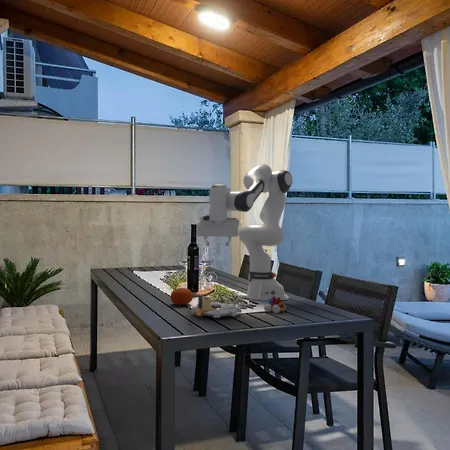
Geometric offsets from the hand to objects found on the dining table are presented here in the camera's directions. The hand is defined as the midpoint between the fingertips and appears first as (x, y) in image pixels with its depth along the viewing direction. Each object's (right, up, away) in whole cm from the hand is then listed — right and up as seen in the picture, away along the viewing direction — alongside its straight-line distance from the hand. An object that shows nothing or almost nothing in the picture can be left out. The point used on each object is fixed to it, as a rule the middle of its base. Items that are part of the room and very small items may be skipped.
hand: (217, 245), depth 232 cm
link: (-5, -26, -25) cm, 36 cm away
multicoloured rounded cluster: (+27, -30, -10) cm, 42 cm away
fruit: (-18, -29, +1) cm, 34 cm away
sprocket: (0, -28, -20) cm, 35 cm away
